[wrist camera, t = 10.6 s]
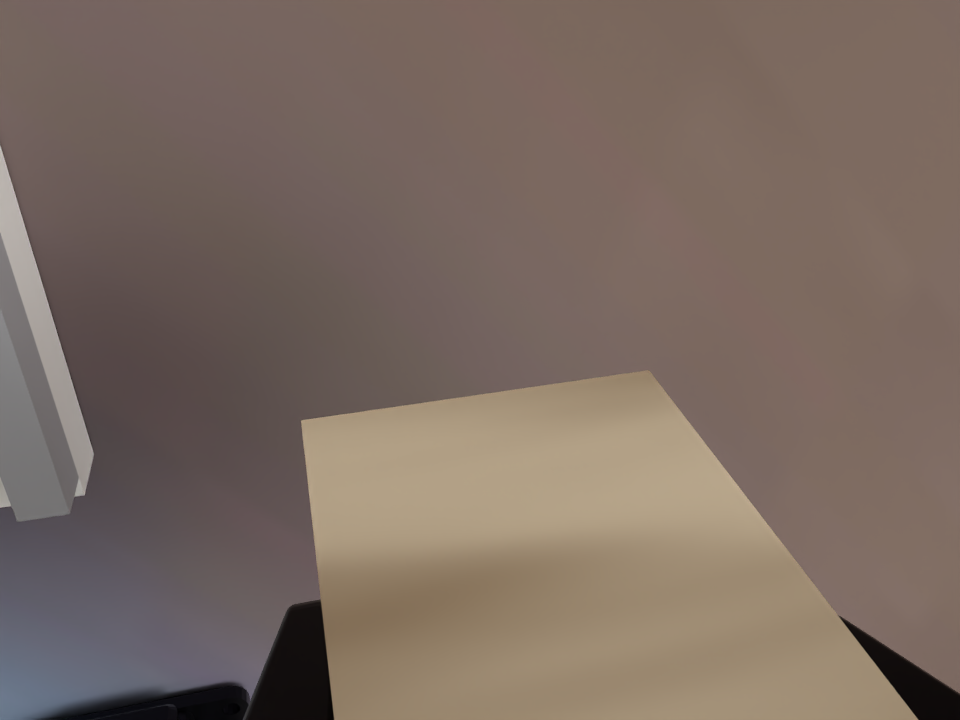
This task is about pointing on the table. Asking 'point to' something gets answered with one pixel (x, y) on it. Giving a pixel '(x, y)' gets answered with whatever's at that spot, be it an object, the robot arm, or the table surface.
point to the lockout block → (563, 569)
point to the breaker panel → (34, 385)
